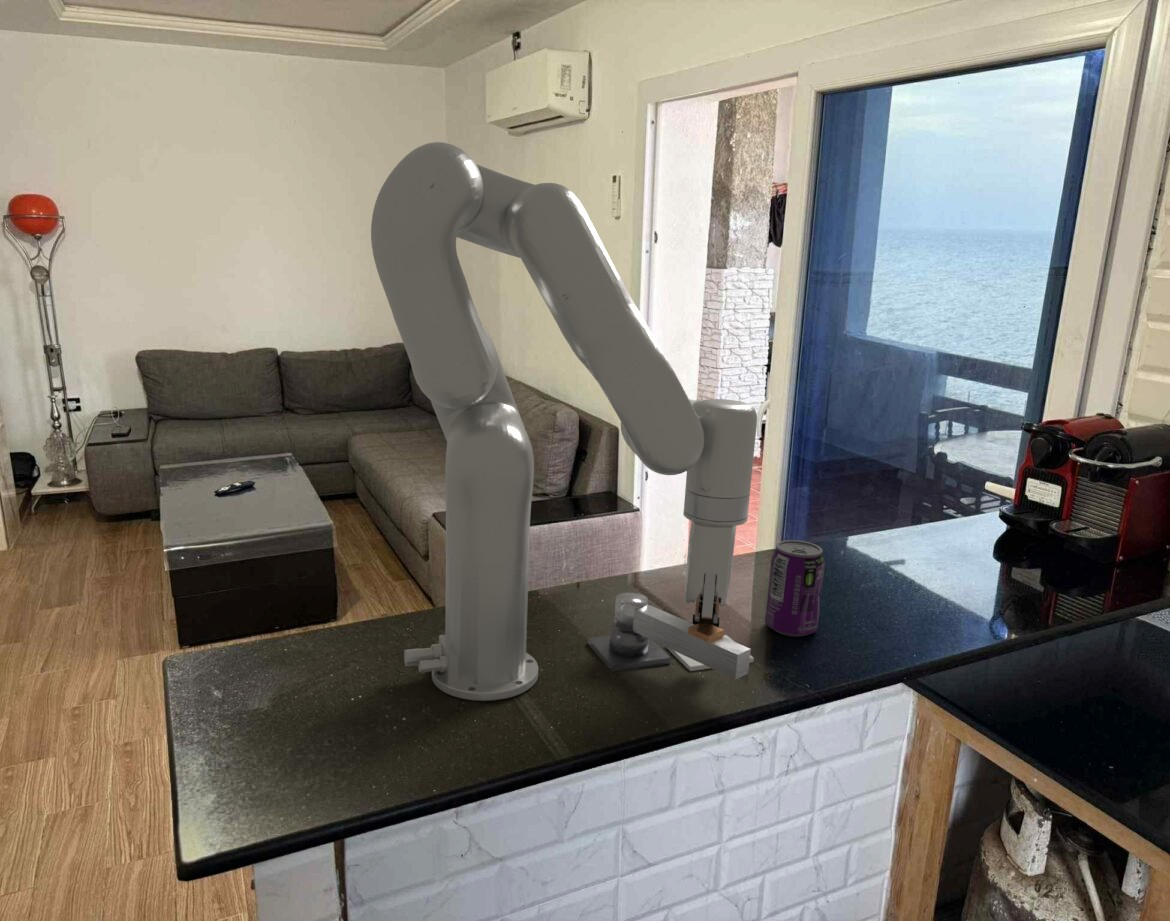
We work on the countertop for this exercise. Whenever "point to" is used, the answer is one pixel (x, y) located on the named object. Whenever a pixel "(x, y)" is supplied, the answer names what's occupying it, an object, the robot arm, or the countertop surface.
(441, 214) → the robot arm
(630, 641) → the pivot pedestal
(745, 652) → the grey long bar
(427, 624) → the countertop surface
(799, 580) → the beverage can
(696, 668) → the label plate
